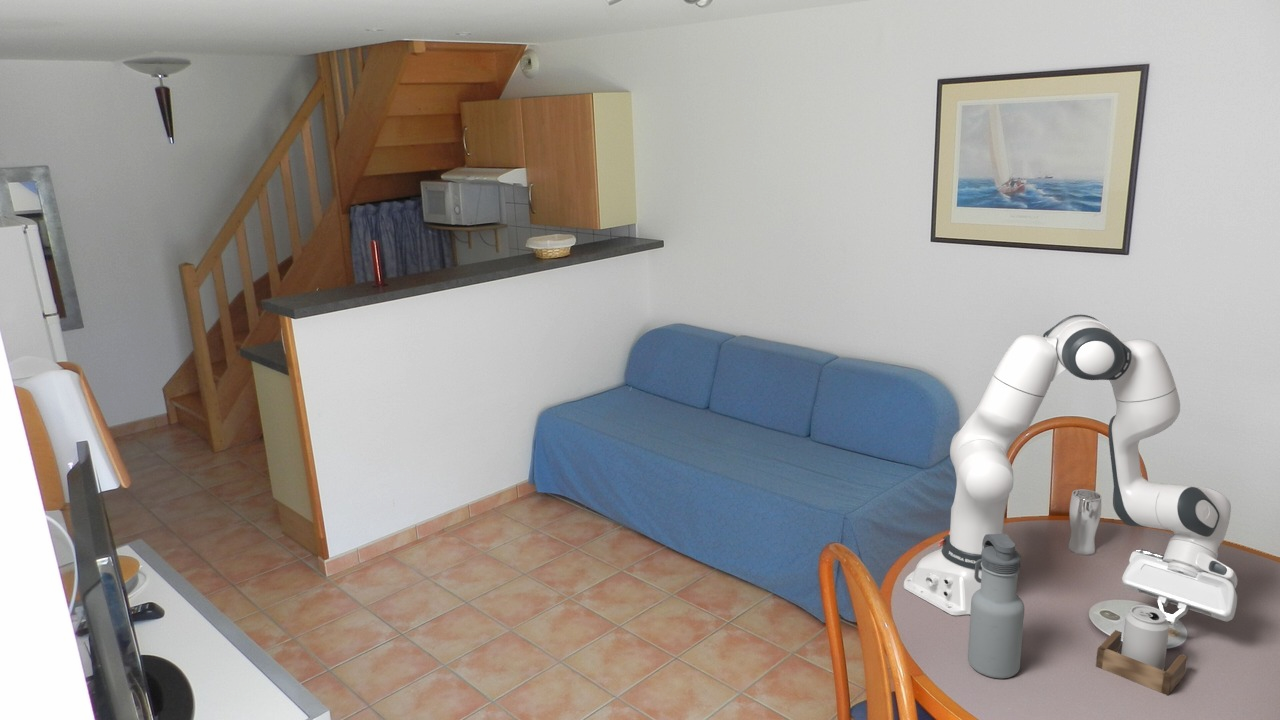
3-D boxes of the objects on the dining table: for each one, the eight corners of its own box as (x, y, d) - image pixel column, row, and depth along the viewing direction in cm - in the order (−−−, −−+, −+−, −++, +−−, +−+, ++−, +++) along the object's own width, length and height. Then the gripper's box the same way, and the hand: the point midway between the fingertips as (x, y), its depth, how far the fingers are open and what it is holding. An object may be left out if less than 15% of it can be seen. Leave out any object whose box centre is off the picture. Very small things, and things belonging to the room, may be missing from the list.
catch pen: (1095, 666, 170) (1097, 648, 169) (1113, 647, 176) (1115, 630, 175) (1168, 695, 161) (1170, 677, 160) (1184, 674, 167) (1187, 656, 166)
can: (1167, 680, 165) (1174, 626, 162) (1123, 673, 168) (1129, 619, 165) (1160, 658, 172) (1166, 605, 169) (1117, 651, 174) (1123, 599, 171)
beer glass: (1098, 546, 216) (1103, 492, 212) (1095, 558, 211) (1101, 502, 207) (1067, 540, 220) (1072, 486, 216) (1064, 552, 214) (1069, 497, 210)
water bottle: (960, 650, 178) (967, 527, 170) (1007, 649, 177) (1016, 526, 170) (977, 681, 168) (985, 552, 160) (1027, 679, 167) (1038, 550, 160)
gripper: (1131, 540, 184) (1108, 598, 180) (1242, 573, 169) (1220, 637, 165) (1137, 552, 188) (1115, 608, 184) (1246, 585, 173) (1225, 647, 169)
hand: (1166, 622), depth 175 cm, fingers closed
